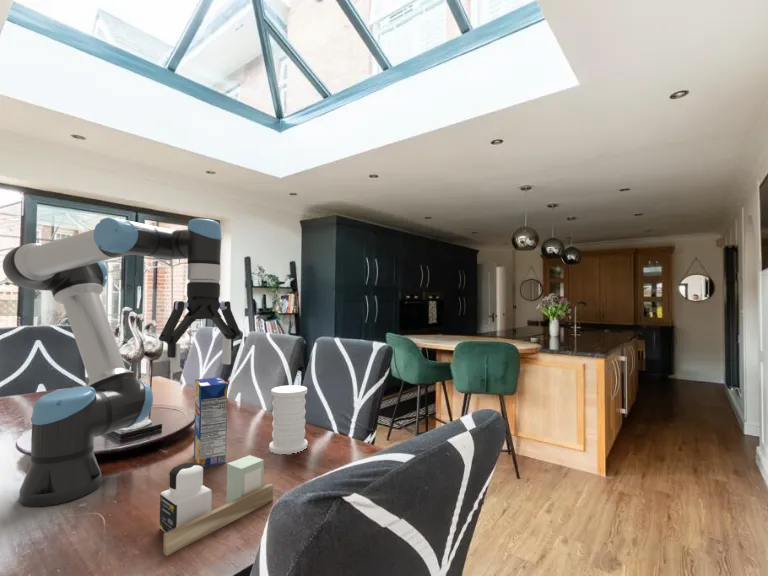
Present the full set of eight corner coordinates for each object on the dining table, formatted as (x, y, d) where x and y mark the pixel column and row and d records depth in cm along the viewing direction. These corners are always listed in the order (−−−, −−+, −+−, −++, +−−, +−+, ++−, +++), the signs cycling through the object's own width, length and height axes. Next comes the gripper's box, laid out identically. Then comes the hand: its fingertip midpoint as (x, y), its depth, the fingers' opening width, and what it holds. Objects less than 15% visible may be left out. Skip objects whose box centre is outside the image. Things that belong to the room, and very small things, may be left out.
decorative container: (261, 452, 120) (262, 391, 120) (282, 439, 131) (283, 383, 131) (295, 456, 116) (296, 394, 117) (314, 443, 127) (314, 386, 128)
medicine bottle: (158, 528, 80) (160, 467, 80) (194, 513, 85) (195, 456, 86) (175, 541, 75) (176, 477, 76) (211, 525, 81) (212, 465, 81)
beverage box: (199, 468, 108) (200, 386, 109) (193, 454, 117) (195, 379, 118) (225, 462, 112) (227, 383, 112) (218, 450, 121) (220, 377, 122)
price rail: (162, 553, 72) (162, 533, 72) (268, 498, 92) (268, 482, 92) (166, 556, 71) (167, 535, 71) (272, 500, 91) (272, 484, 91)
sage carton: (226, 504, 89) (227, 463, 89) (248, 493, 94) (249, 455, 94) (240, 511, 86) (241, 469, 86) (263, 499, 91) (263, 459, 92)
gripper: (237, 284, 112) (236, 360, 112) (143, 279, 91) (141, 373, 91) (254, 283, 108) (253, 362, 107) (160, 279, 87) (158, 376, 87)
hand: (202, 367), depth 99 cm, fingers open, 13 cm apart
